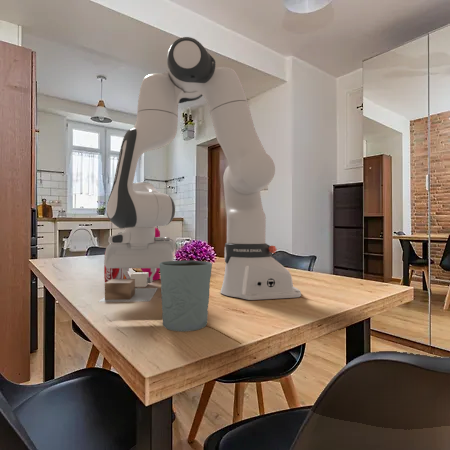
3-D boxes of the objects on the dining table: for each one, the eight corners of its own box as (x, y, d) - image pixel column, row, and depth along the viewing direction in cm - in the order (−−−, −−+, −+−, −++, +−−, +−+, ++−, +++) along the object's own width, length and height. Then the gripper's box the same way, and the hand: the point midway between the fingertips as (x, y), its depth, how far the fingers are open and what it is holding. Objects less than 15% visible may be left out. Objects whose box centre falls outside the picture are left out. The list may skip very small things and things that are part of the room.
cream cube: (148, 286, 100) (148, 272, 100) (146, 289, 96) (146, 274, 96) (133, 287, 100) (133, 272, 100) (130, 289, 96) (130, 274, 96)
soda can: (99, 284, 103) (99, 247, 103) (114, 281, 110) (114, 245, 110) (117, 286, 101) (117, 247, 101) (131, 282, 107) (132, 246, 107)
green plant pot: (154, 332, 58) (155, 265, 58) (162, 316, 68) (163, 259, 68) (211, 332, 59) (212, 265, 59) (211, 316, 69) (211, 259, 69)
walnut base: (134, 294, 85) (134, 278, 85) (130, 299, 79) (130, 283, 79) (111, 294, 85) (111, 279, 85) (104, 299, 79) (104, 283, 79)
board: (157, 291, 94) (157, 288, 94) (149, 305, 78) (149, 301, 78) (115, 291, 92) (115, 288, 92) (98, 305, 77) (98, 301, 77)
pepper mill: (137, 280, 112) (137, 222, 112) (145, 277, 119) (146, 222, 119) (156, 281, 111) (157, 222, 111) (164, 277, 118) (164, 222, 118)
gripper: (175, 236, 102) (175, 281, 102) (108, 236, 100) (108, 281, 100) (174, 237, 96) (173, 284, 96) (102, 237, 94) (102, 285, 94)
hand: (139, 283), depth 98 cm, fingers closed on cream cube, 4 cm apart
